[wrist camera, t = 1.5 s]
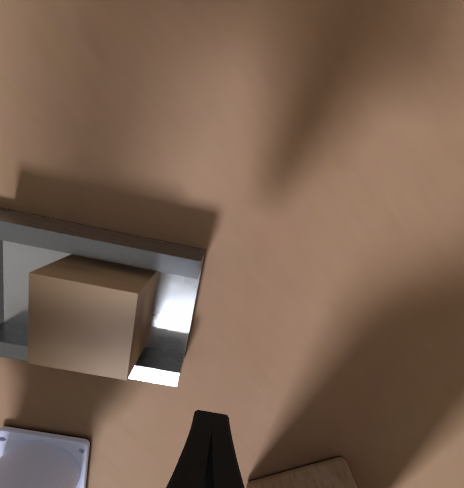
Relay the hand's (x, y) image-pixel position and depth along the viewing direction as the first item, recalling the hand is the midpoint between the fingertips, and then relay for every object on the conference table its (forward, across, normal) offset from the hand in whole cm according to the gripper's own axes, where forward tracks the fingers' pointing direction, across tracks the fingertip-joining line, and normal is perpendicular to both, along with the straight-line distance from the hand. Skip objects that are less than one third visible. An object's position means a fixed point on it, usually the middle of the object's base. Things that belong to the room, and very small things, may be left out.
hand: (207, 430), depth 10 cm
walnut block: (+9, +8, 0) cm, 12 cm away
